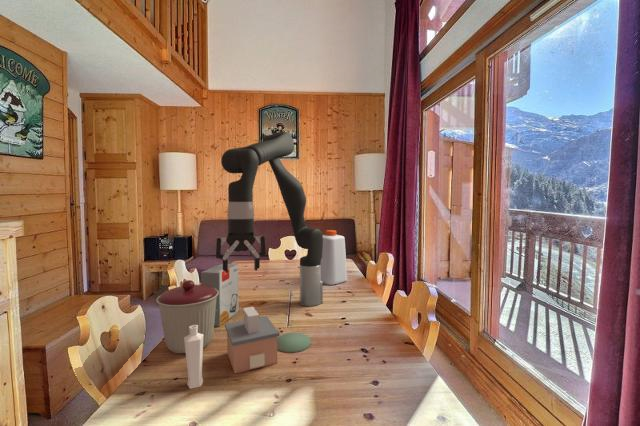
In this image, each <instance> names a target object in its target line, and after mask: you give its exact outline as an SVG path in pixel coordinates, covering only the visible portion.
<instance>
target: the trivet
mask: <svg viewBox="0 0 640 426" xmlns="http://www.w3.org/2000/svg"><path fill="white" fill-rule="evenodd" d="M311 345H312V339H311V337H310V336H308V335H307V334H304V333H300V332H289V333H284V334H281V335H279V336H278V337H277V351H280V352H282V353H291V354H294V353H300V352H303V351H306V350H307V349H309V348H310V347H311Z"/></svg>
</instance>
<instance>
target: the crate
mask: <svg viewBox="0 0 640 426" xmlns="http://www.w3.org/2000/svg"><path fill="white" fill-rule="evenodd" d="M226 343H227V348H226V349H227V356H228V358H229V361H230V364H231V367H232V370H233V373H234V374H239V373H243V372H247V371H252V370H255V369H259V368H262V367H267V366H271V365H274V364H275V365H276V364H278V350H277V337H273V338H268V339H264V340H259V341H254V342H250V343H245V344H240V345H236V346H232V344H231V341H230V339H229V336H228V333H227V332H226Z"/></svg>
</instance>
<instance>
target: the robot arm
mask: <svg viewBox="0 0 640 426" xmlns="http://www.w3.org/2000/svg"><path fill="white" fill-rule="evenodd" d="M294 150H295V142H294V139H293V137H292V135H291V134H290V133H289V132H287V131H278V132H275V133H272V134H269V135H268V134H267V135H265V136H264V137H263V138H262V141H260V142H255V143H251V144H248V145H247V146H243V147H234V148H229V149H226V151H224V153H223V154H222V156H221V161H220V163H221V166H222V169H223V170H224V171H225V172H227V173H229V174H241V176H240V178H239V179H238V180H235V181H232V182H229V184H228V186H227V187H228V189H227V192H228V196H227V197H228V199H227V200H228V201H227V202H228V203H227V236H226V237H221V236H217V237H216V248H215V258H216V259H220V260H221V261H222V264H223V271H225V273H228V264H229V262H228V258H229V256H231V254H232V253H233V252H247V251H250V252H251V253H252V255H253V256H254V258H253V261H254V263H253V264H254V265H253V267H254V271H258V269H260V264H261V263H260V262H261V261H260V258H262V257H265V256H266V253H267V252H266V250H267V249H266V240H265V238H266V237H265V236H264V235H263V234H262V235H259V236H255V228H254V227H255V221H254V220H255V211H254V210H255V208H254V195H253V194H254V191H253V189H254V185H255V180H256V176H257V172H258V168H259V166H261V165H264V164H265V163H267V162H268V163H269V166H270V168H271V170H272V172H273V175H274V177H275V179H276V182H277V186H278V188H279V190H280V195H281V197H282V200H283V202H284V206H285V207H286V211H287V214H288V216H289V220H290V223H291V228H292V231H293V235H294V239H295V242H296V244H297V246H298V247H299V248H301V249H307V253H306V255H305V256H301V257H300V258H299V302H300V305H302V306H305V307H315V306H318V305H321V304H323V302H324V301H323V300H324V299H323V295H324V293H323V291H324V290H323V288H324V286H323V284H324V283H323V282H322V281H321V259H322V251H323V235H324V234H323V233H322V231H321V230H320V229H319V228H315V227H308V225H307V223H306V220H305V215H304V214H305V209H306V204H307V198H306V194H305V191H304V188H303V185H302V183H301V181H300V180H298V178H297V177H295V176H294V175H293V174H292V173H291V172H290V171H288V170H287V168H286V167H285V166H284V165H283V162H282V160H281V158H284V157H287V156H290V155H292V153H293V152H294ZM256 241H257V243H258V244H259V248H260V251H257V250H256V249H255V247H254V246H253V245H254V243H255V242H256ZM224 243H227V244H228V247H227V249H226V250H225V252H224V253H223V254H222V252H221V248H222V247H221V246H223V245H224Z"/></svg>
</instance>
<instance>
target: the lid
mask: <svg viewBox="0 0 640 426" xmlns="http://www.w3.org/2000/svg"><path fill="white" fill-rule="evenodd" d="M242 309H243V310H242V313H243V320H238V321H233V322H228V323H227V322H225V323H224V328H225V331H226V334H227V333H228V336H229V339H230V341H231V344H232V346H236V345H240V344H245V343H250V342H254V341H259V340H264V339H268V338H273V337H279V336H280V331H279V330H278V329H277V328H276V326H275V325H274V323H272V321H271V320H270V319H269V317H268V316H267V315H266V316H260V315H259V314H260V313H258V311H257V310H256V309H255V307H254V306H249V307H248V306H247V307H244V308H242Z"/></svg>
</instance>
